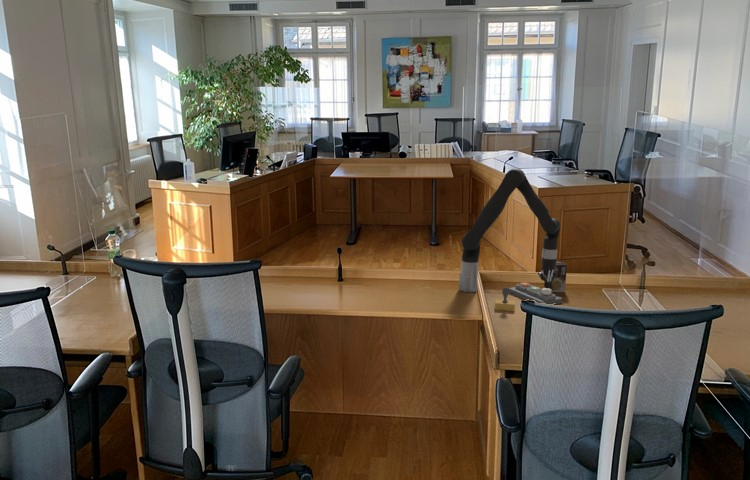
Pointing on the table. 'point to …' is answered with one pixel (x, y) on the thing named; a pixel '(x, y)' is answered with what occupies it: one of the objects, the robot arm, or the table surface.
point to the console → (534, 295)
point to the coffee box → (559, 278)
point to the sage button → (535, 289)
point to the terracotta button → (524, 285)
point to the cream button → (546, 291)
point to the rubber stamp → (505, 302)
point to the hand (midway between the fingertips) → (546, 287)
